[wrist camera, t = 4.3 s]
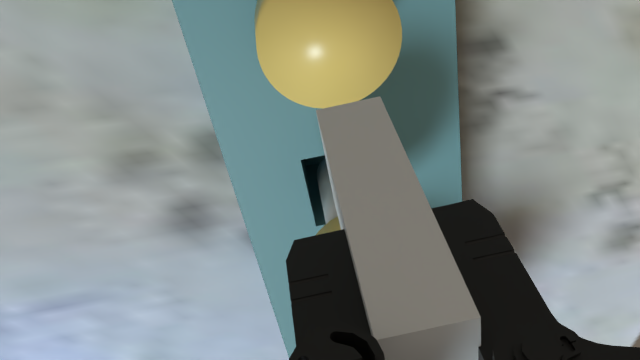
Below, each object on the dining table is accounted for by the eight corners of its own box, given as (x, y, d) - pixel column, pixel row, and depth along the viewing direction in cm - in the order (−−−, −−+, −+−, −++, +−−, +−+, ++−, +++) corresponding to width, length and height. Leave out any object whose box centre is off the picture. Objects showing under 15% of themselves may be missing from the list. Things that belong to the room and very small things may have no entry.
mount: (288, 303, 39) (296, 380, 34) (157, -134, 23) (137, -105, 19) (438, 271, 39) (467, 345, 34) (404, -187, 23) (449, -172, 19)
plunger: (264, 38, 27) (274, 120, 21) (237, -72, 24) (240, -14, 18) (368, 16, 27) (407, 92, 21) (354, -97, 24) (395, -47, 18)
